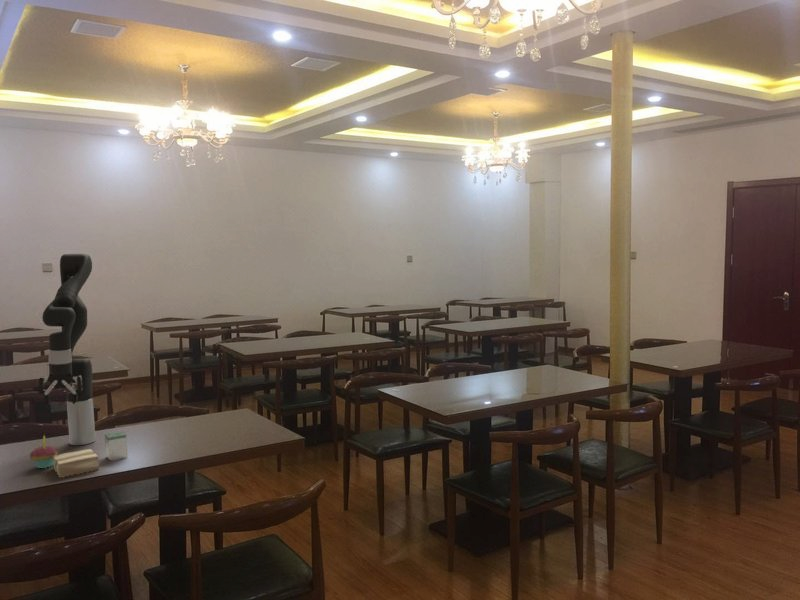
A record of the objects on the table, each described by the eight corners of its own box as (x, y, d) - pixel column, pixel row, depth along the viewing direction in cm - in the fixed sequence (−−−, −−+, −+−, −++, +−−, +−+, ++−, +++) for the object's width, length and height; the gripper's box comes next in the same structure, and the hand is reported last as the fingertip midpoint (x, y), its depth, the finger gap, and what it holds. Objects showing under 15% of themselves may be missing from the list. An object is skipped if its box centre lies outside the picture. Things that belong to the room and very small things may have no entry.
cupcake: (62, 465, 227) (59, 432, 226) (35, 472, 221) (33, 438, 220) (52, 461, 233) (50, 428, 232) (26, 467, 227) (24, 433, 226)
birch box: (53, 469, 224) (52, 455, 224) (91, 462, 232) (90, 448, 231) (60, 478, 215) (59, 464, 214) (98, 470, 222) (98, 456, 222)
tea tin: (106, 457, 236) (104, 434, 235) (123, 453, 240) (122, 431, 239) (109, 461, 231) (108, 437, 231) (127, 457, 235) (126, 434, 234)
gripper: (83, 358, 243) (84, 400, 245) (41, 359, 239) (42, 401, 241) (79, 363, 236) (80, 406, 238) (36, 363, 232) (37, 407, 234)
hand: (61, 403), depth 239 cm, fingers open, 8 cm apart
